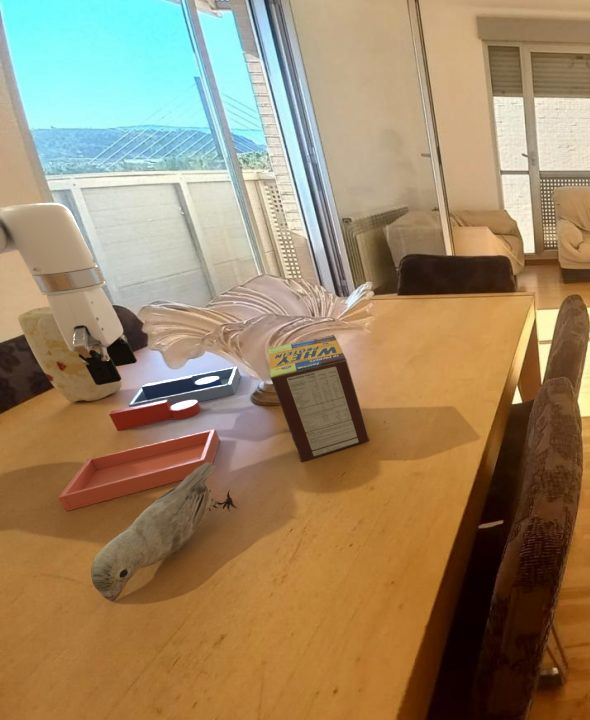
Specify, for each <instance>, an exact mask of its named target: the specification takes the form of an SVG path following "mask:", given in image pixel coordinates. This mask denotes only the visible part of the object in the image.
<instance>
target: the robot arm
mask: <svg viewBox="0 0 590 720" xmlns="http://www.w3.org/2000/svg"><path fill="white" fill-rule="evenodd" d="M16 251H18V253H19V254H20V256H21V258H22V260H23V262H24V264H25V265H26V267H27V269H28V271H29V273H30V275H31V276H32V278H33V280H34V282H35V284H36V286H37V288H38V289H39V291H40V293H41V295H42V296H46V299H47V303H48V307H50V309H51V311H52V314H53V316H54V319H55V321H56V323H57V325H58V327H59V330H60V332H61V334H62V336H63V338H64V340H65V342H66V344H67V346H68V348H69V350H70V351H72V352H78V353H79V354H78V355H79V357H80V358H81V359H82V361H83V363H84V365H86V367H87V369H88V371H89V373H90V375H91V376H92V378H93V380H94V382H95V384H96V385H103V384H108V383H113V382H118V381H122V376H121V374H120V373H119V370H118V368H117V367H121V366H126V365H132V364H136V363H137V362H138V359H137V357H136V355H135V353H134V351H133V349H132V348H131V345H130V343H129V342H128V338H127V337H126V335H125V334H124V328H123V325H122V323H121V321H120V318H119V317H118V314H117V312H116V310H115V308H114V306H113V305H112V303H111V301H110V300H109V298H108V296H107V294H106V293H105V291H104V289H103V288H102V287H105V286H106V285H107V283H106V281H105V279H104V277H103V275H102V273H101V271H100V269H99V267H98V265H97V263H96V260H95V258H94V257H93V255H92V252H91V250H90V248H89V247H88V244H87V242H86V240H85V238H84V236H83V234H82V231H81V229H80V227H79V226H78V223H77V221H76V219H75V217H74V215H73V214H72V212H71V210H70V209H69V208H68V207H66V206H65V205H63V204H61V203H56V202H44V203H43V202H42V203H25V204H14V205H8V206H3V207H1V206H0V255H2V254H6V253H11V252H16ZM98 343H99V344H98ZM92 344H93V345H92ZM95 350H99V352H100V354H99V353H98V352H96V351H95ZM108 355H109V357H110V359H109V360H108Z"/></svg>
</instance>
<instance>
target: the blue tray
mask: <svg viewBox="0 0 590 720" xmlns="http://www.w3.org/2000/svg"><path fill="white" fill-rule="evenodd" d="M211 376H218V377H219V378H220V380H221V383H222V385H220V386H215V387H210V388H205V389H200V390H195V391H191V392H186V393H181V394H176V395H171V396H166V397H161V398H156V399H151V400H147V398H146V396H145V394H144V392H143V390H142V388H140V389H139V390H138V392H137V393H136V394H135V396H134V397H133V399H131V401H130V402H129V404H128V408H130V407H135V406H139V405H144V404H149V403H154V402H159V401H164V400H168V402H169V404H170V406H172V405H174V404H176V403H179V402H183V401H187V400H197V401H198V403H200V402H204V401H209V400H213V399H219V398H224V397H228V396H233V395H235V394H236V391H237V389H238V386H239V383H240V380H241V377H242V376H241V373H240V371H239V368H238V366H235V367H229V368H224V369H218V370H213V371H208V372H203V373H197V374H193V377H194V380H195V381H197V380H199V379H202V378H206V377H211Z"/></svg>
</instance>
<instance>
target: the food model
mask: <svg viewBox="0 0 590 720" xmlns="http://www.w3.org/2000/svg"><path fill="white" fill-rule="evenodd" d="M17 321H18V323H19V325H20V328H21V330H22V333H23V335H24V337H25V339H26V341H27V344H28V346H29V348H30V350H31V352H32V354H33V356H34V357H35V360H36V361H37V363H38V365H39V366H40V368H41V370H42V371H43V373H44V375H45V377H47V379H48V381H49V382H50V383H51V385H52V386H53V388H55V389H56V390H57V392H58V393H59V394H60V395H61V396H62V397H63V398H65V400H67V401H69V402H78V401H86V402H91V401H99V400H101V399H103V398H106V397H107V396H109V395H111V394H113V393H115V392H118V391H120V390H121V388H122V386H123V384H122V380H120V381H118V382H113V383H108V384H103V385H96V384H95V382H94V380H93V378H92V376H91V375H90V373H89V371H88V369H87V367H86V365H84V363H83V361H82V359H81V358H80V357H79V355H78V354H79V353H78V352H72V351H70V350H69V348H68V346H67V344H66V342H65V340H64V338H63V336H62V334H61V332H60V330H59V327H58V325H57V323H56V321H55V319H54V316H53V314H52V311H51V309H50V306H43V307H42V306H41V307H38V308H37V307H36V308H33V309H30V310H28V311H26V312H22V313H21V314H19V315H18V316H17ZM98 344H99V343H98ZM92 345H93V344H92ZM95 351H96V352H98V353H99V354H100V352H99V350H95ZM109 359H110V357H109V355H108V360H109Z"/></svg>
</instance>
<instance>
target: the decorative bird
mask: <svg viewBox="0 0 590 720" xmlns="http://www.w3.org/2000/svg"><path fill="white" fill-rule="evenodd" d="M215 469H216V466H215V465H213V464H212V465H210V463H208V462H207V463H204V464H203V465H201V466H199V467H198V468H196V469H195V470H194V471H193V472H192V473H191V474H190V475H188V476H187V477H186V478H185V479H183V480H181V482H180V483H179V484H178V485H177V486H175V487H173V488H172V489H170V490H169V491H167V492H165V493H164V494H162V495H161V496H159V497H158V498H157V499H156V500H155V501H154V502H152V503H151V504H150V505H148V507H146V508H145V509H144V510H143V511H141V513H140V514H139V515H138V516H137V517H136V519H135V520H134V521H133V522H132V524H131V525H129V526H128V527H127V528H126V529H125V530H124V531H122V532H121V533H120V534H118V535H117V536H115V537H114V538H112V539H111V540H110V541H109V542H108V543H107V544H106V545H104V546H103V547H102V548H101V549H100V551H99V552H98V553H97V554H96V555H95V557H94V559H93V562H92V564H91V568H90V575H91V577H90V578H91V581H92V585H93V586H94V588H95V589H96V590H97V591H98V593H99V594H100V596H102V597H103V598H104V599H106V600H107V601H110V602H115V601H116V600H117V599H118V597H119V596H120V594H121V593H122V592H123V591H124V589H125V588H126V585H127V583H128V582H129V580H130V579H131V578H132V577H134V575H135V574H137V572H138V571H139V570H141V569H143V568H146V567H150V566H153V565H155V564H157V563H158V562H160V561H162V560H163V559H165V558H167V557H169V556H170V555H172V554H174V553H176V552H177V551H179V550H180V549H182V548H183V547H184V546H185V545H186V544H187V542H189V540H190V539H191V538H192V536H193V535H194V533H195V531H196V530H197V529H198V527H199V525H201V522H202V521H203V520H204V519H205V517H206V515H207V513H208V511H209V512H212V510H211V508H215V509H218V507H217V506H216V505H218V506H221V505H223V506H222V509H223V510H224V509H225V508H227V510H228V511H229V512H231V510H230V509H231V508H230V507H232V508H234V509H238V507H236V505H234V503H233V499H232V498H231V495H230V492H231V491H230V489H229V490H228V491H227V494H226V499H225V501H223V502H220V501H217V500H214V499H213V498H212V494H211V489H209V486H208V483H207V481H206V480H207V479H208V478H209V476H210V475H211V473H213V471H214V470H215Z"/></svg>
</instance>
